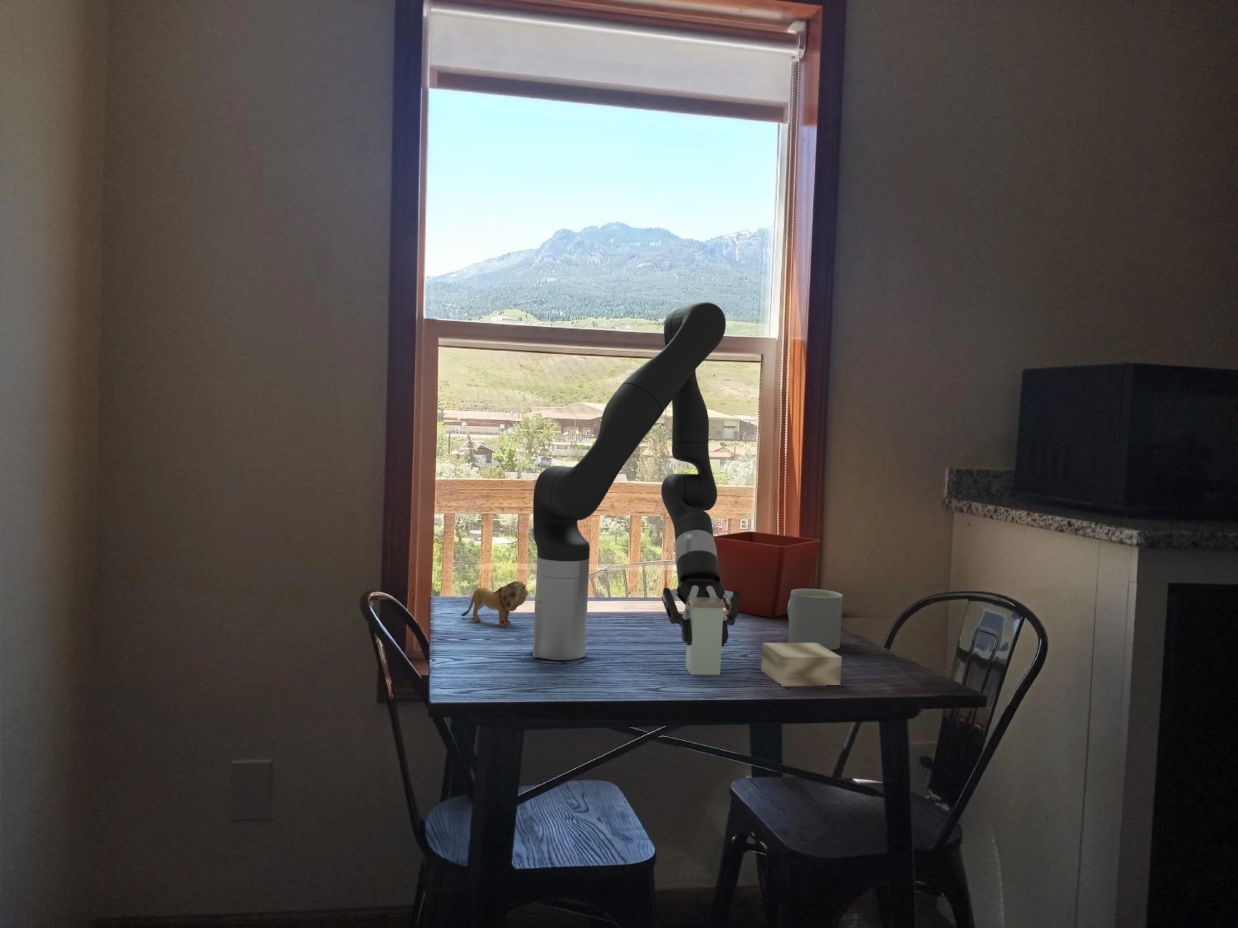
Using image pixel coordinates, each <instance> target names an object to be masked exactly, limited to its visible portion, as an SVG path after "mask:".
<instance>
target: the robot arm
mask: <svg viewBox="0 0 1238 928" xmlns="http://www.w3.org/2000/svg"><path fill="white" fill-rule="evenodd" d="M726 327H727V322H726V316H725V313H724V311H723V310H722V309H721V307H719V306H718V305H716V304H715V303H713V302H709V301H708V302H707V301H702V302H699V301H698V302H695V303H690V304H687V305H683V306H679V307H676V308H674V309H672V310H671V311H670V312H669V313H668V314H667V315H666V318H665V321H664V324H663V339H664V340H663V341H664V348H663V349H662V350H661V351H659V353H657V354H656V355H654V357H652V358H651V359H649V360H648V361H646V362H645V363H644V364H642V365H641V366H640V367H638V368H637V369H636V370H635V371H634V372H632V373H631V374H630V375H629V376H628V377H627V378H626V379H625V380H624V381H623V382H622V383H621V385H620V386H619V387H618V388H617V390H616V391H615V392H614V394H612V396H611V398H610V399H609V400H608V402H607V403H606V405H605V407H604V410H603V413H602V416H601V421H600V424H599V425H600V426H599V431H598V435H597V437H596V440H595V441H594V443H593V444H592V446H591V447H590V448H589V450H588V451H587V453H586V454H584V456H583V457H582V458H581V460H579V462H578V463H576V464H575V465H574V466H567V465H552V466H548V467H547V468H545V469H544V470H542V471H541V473H540V474H539V476H538V477H537V479H536V481H535V484H534V488H533V500H532V514H533V515H532V516H533V517H532V519H533V521H532V530H533V531H532V533H533V539H534V543H535V545H536V550H537V551H536V556H537V557H536V574H535V575H536V577H535V580H536V581H535V597H534V616H533V617H534V618H533V636H532V638H533V639H532V641H533V642H532V657H533V658H540V659H546V660H551V661H552V660H553V661H573V660H578V659H579V660H580V659H582V658H584V657H585V656H586V647H587V626H588V625H587V622H588V621H587V620H588V599H589V598H588V597H589V578H590V577H589V576H590V575H589V574H590V555H591V554H590V553H591V550H590V549H591V546H590V543H589V542H588V540H587V539H586V538H585V537H584V536H583V535H582V534H581V532H580V529H579V527H578V521H583V520H585V519H587V518H589V517H590V516H592V515H593V514H594V513H595V512H596V511H597V509H598V508H599V506H600V505H601V504H602V502H603V500H604V499H605V497H606V496H607V494H608V492H609V490H610V488H611V487H612V485H613V483H614V482H615V480H616V478H617V477H618V474H619V473H620V472H621V471H622V469H623V467H624V465H625V464H626V462H628V460H629V458H631V456H633V455H632V454H633V453H634V452H635V450H636V449H637V448H638V446H639V445H640V443H642V441H643V439H644V438H645V437H646V436H647V435H648V434H649V432H650V431H651V430H652V428H653V427H654V426H655V424H656V423H657V422H658V421H659V419H660V418H661V416H662V415H663V413H664V412H665V410H666V409H667V408H668V406H669V405H670V403H671V406H672V407H671V408H672V412H671V413H672V424H671V425H672V427H671V428H672V429H671V454H672V458H673V459H675V460H676V461H679V462H684V463H689V464H691V465H693V466H694V467H695V468H696V471H697V473H670V474H669V475H667V476H666V477H665V478H664V480H663V481H662V484H661V489H660V493H661V495H660V496H661V499H662V502H663V504H664V505H663V506H664V508H665V510H666V511H667V513H668V515H669V517H670V519H671V520H670V521H671V522H672V524H673V529H674V539H675V540H674V542H675V550H674V551H675V552H674V553H675V554H674V555H675V557H674V558H675V559H674V561H675V566H676V576H677V587H676V588H675V589H670V588H669V587H664V588H663V590H662V594H661V595H662V596H661V600H662V604H663V607H664V609H665V611H666V614H667V617H668V621H669V622H670V624H672V625H675V624H678V625H679V626H680V628H681V636H682V637H681V639H682V641H683V643H686V646H687V645H691V643H692V631H691V621H689V618H690V604H689V603H688V601H687V599H688V597H717V598H720V599H721V600H722V598H723V597H724V598H725V599H726V601H727V603H728V605H730V609H729V610H728V614H726V613H725V611H724V610H723V626H722V646H721V647H724V646H725V644H727V643H728V639H729V630H728V629H729V628H728V626H734V625H735V623H736V619H737V617H738V606H739V598H740V591H739V590H734V591H733V592H730V591H726V590H725V589H724V587H723V586H722V584H721V579H720V572H719V564H718V556H717V550H716V545H715V542H714V537H713V536H714V531H713V529H714V528H713V523H712V520H711V519H712V518H711V516H710V515H709V513H708V512H707V511H710V510H712V509H713V507H714V506H715V504H716V502H717V501H718V490H717V484H716V481H715V477H714V474H713V471H712V470H713V469H712V466H711V460H710V453H709V452H710V451H709V450H710V449H709V440H710V436H709V435H710V421H709V420H710V419H709V412H708V409H707V405H706V403H705V399H704V397H703V395H702V391H701V390H700V386H699V384H698V379H697V373H696V372H697V371H696V369H697V368H698V367H699V366H700V365H701V364H702V363H703V362H704V361H705V360H706V359H707V357H709V356H710V355H711V354H712V353H713V351H714V350H716V348H717V347H718V346H719V345H720V343H721V342H722V340H723V338H724V336H725V333H726ZM676 598H678V599H679V601H681V602H682V604H684V610H683V613H680V612H679V610H678V608H677V605H676ZM722 601H723V600H722Z"/></svg>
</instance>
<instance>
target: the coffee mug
mask: <svg viewBox="0 0 1238 928" xmlns="http://www.w3.org/2000/svg"><path fill="white" fill-rule="evenodd" d="M843 596H844V595H843V593H840V592H836V591H832V590H828V589H827V590H826V589H818V588H807V589H795V590H792V591H791V597H790V600H789V603H788V614H787V618H788V636H787V638H788V639H787V643H818V644H820V645H822V646H823V647H825V648H827V649H829V650H830V651H832V650H837V649H840V647H841V635H842V633H841V631H842V615H843V600H844V599H843V598H844V597H843Z"/></svg>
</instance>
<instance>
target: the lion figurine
mask: <svg viewBox="0 0 1238 928" xmlns="http://www.w3.org/2000/svg"><path fill="white" fill-rule="evenodd" d="M526 587H527V585H526V584H525V582H523V581H521V580H514V581H511V582H510V583H507V584H506V585H504V586H500V587H499V588H498V589H497V590H495V591H493V590H489V589H488V588H487V587H478V588H476V589H475V590H474V592H473V594H472V597H471V599H470V600H471V601H470V604H469V606H468V609H467V610H466V611H465V612H463V613H462V614H460V616H461V617H465V616H467V615H469V613H470V611H471V610H472V607H473V611H472V617H473V620H474V621H473V622H475V623H481V618H480V615H479V614H478V613H479V610H481V609H482V608H484V606H486V607H487V609H490V610H492V611H498V623H499V627H501V626H504V627H506V626H507V625H509V624H511V623H512V622H511V620H509V615H510V612H515V611H516V610H517V608H518V607H520V606H522V605H523V604H524V603H525V601H526V599H527V597H528V595H529V591H528V590H527V589H526ZM473 605H474V606H473Z"/></svg>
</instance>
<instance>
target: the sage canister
mask: <svg viewBox="0 0 1238 928" xmlns="http://www.w3.org/2000/svg"><path fill="white" fill-rule="evenodd" d="M687 601H688V603H689V604H690V618H689V621H691V631H692V643H691V645H687V644H686V653H685V668H686V670H687V671H688V672H689V675H691V676H692V675H693V676H694V675H696V676H697V675H698V676H699V675H701V676H703V675H705V676H721V665H722V663H721V661H722V660H721V659H722V647H723V646H722V626H723V611H724V609H726V608H725V603H724V602H723V600H721V599H720V598H717V597H688V599H687Z"/></svg>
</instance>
